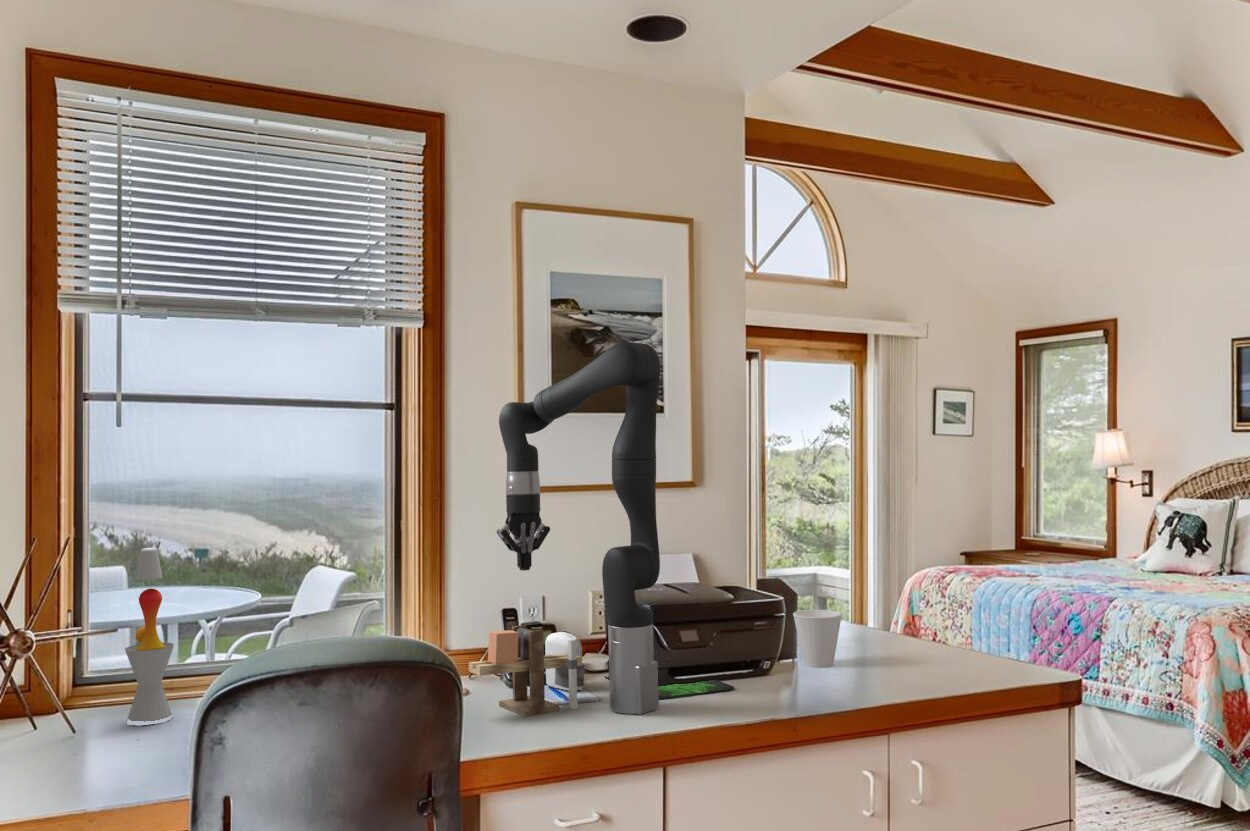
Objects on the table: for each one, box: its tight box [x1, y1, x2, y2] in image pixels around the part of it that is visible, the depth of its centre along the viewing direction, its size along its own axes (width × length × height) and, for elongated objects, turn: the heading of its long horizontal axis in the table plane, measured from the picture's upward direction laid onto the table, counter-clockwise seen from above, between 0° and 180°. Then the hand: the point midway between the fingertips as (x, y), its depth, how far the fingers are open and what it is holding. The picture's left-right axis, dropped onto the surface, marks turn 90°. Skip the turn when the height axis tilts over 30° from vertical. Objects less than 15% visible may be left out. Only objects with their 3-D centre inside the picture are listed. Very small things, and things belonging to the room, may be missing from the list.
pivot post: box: [498, 624, 560, 717], centre depth 205 cm, size 8×11×16 cm
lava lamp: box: [124, 547, 175, 722], centre depth 202 cm, size 9×9×35 cm
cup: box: [792, 609, 843, 669], centre depth 240 cm, size 12×12×12 cm
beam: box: [468, 627, 585, 688], centre depth 205 cm, size 25×6×12 cm, turn 125°
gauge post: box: [567, 639, 578, 710], centre depth 204 cm, size 2×2×14 cm
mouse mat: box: [603, 675, 735, 701], centre depth 224 cm, size 27×22×1 cm
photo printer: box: [544, 631, 584, 692], centre depth 222 cm, size 10×4×12 cm, turn 39°
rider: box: [487, 629, 519, 664], centre depth 202 cm, size 5×3×7 cm
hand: (524, 570), depth 219 cm, fingers closed
